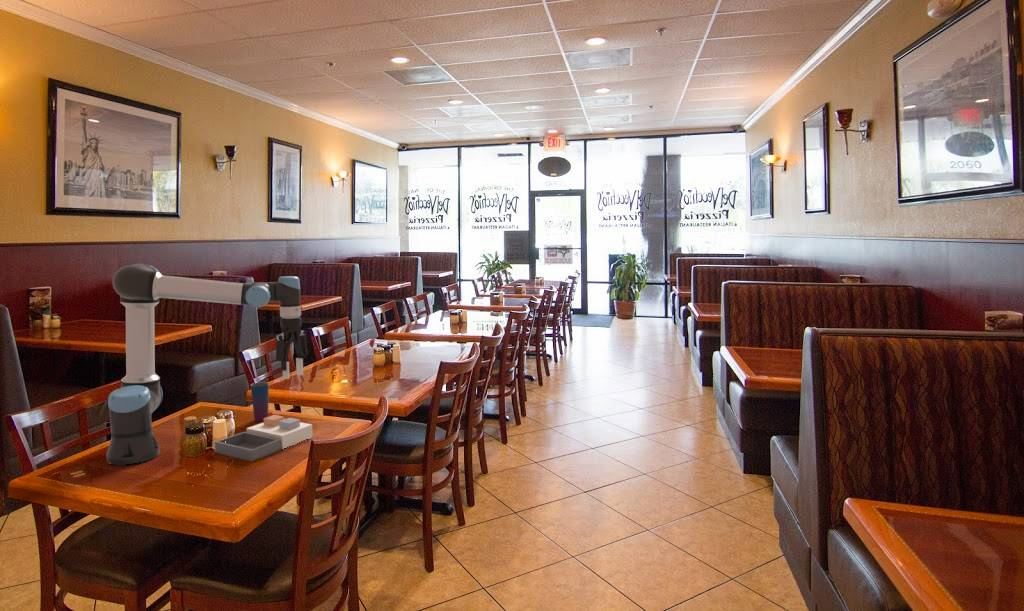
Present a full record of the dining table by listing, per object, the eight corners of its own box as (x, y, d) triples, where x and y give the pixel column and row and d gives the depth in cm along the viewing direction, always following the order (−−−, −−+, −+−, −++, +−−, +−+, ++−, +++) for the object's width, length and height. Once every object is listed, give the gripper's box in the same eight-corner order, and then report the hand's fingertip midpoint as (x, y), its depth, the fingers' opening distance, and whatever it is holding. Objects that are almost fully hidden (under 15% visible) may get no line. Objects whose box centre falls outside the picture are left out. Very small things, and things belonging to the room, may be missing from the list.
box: (215, 453, 202) (214, 442, 202) (244, 442, 213) (244, 431, 212) (251, 462, 194) (251, 450, 194) (280, 450, 205) (280, 439, 204)
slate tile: (279, 428, 213) (279, 421, 213) (290, 424, 218) (289, 417, 218) (289, 430, 211) (289, 423, 211) (299, 426, 216) (299, 419, 215)
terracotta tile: (263, 424, 217) (263, 418, 217) (274, 421, 221) (274, 414, 221) (273, 426, 215) (273, 420, 214) (284, 423, 219) (283, 416, 219)
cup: (252, 418, 240) (250, 383, 238) (270, 416, 243) (268, 381, 241) (252, 423, 234) (250, 387, 232) (270, 421, 237) (269, 385, 235)
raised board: (247, 441, 214) (246, 428, 213) (277, 430, 226) (277, 417, 226) (282, 449, 206) (282, 435, 205) (312, 437, 218) (312, 424, 218)
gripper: (277, 320, 212) (280, 383, 215) (316, 314, 229) (318, 372, 232) (263, 319, 216) (265, 380, 218) (302, 313, 232) (304, 370, 235)
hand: (293, 376), depth 225 cm, fingers open, 6 cm apart
